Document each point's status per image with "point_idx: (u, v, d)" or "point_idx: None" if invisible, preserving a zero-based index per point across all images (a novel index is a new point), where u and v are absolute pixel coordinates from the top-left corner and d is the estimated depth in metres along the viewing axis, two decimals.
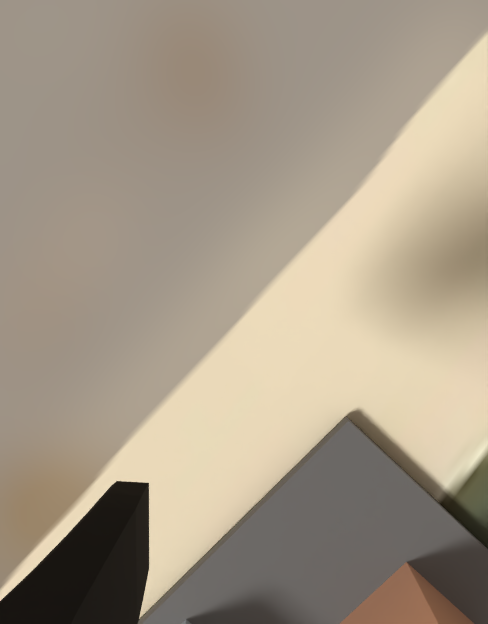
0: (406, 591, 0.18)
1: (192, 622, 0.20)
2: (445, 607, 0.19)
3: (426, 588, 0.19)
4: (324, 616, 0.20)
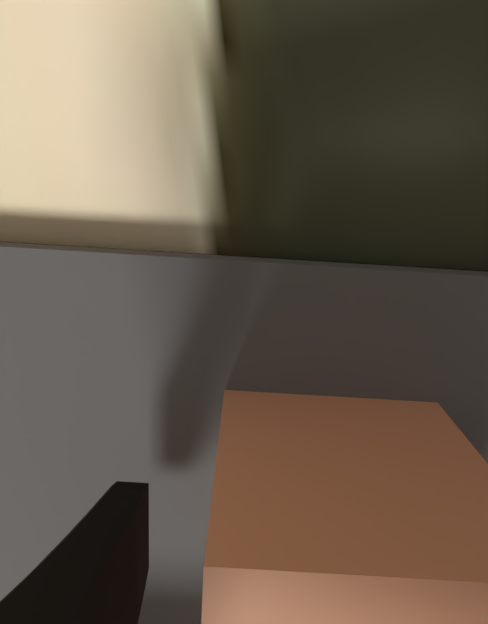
0: None
1: None
2: (313, 423, 0.09)
3: (259, 414, 0.09)
4: (185, 550, 0.11)
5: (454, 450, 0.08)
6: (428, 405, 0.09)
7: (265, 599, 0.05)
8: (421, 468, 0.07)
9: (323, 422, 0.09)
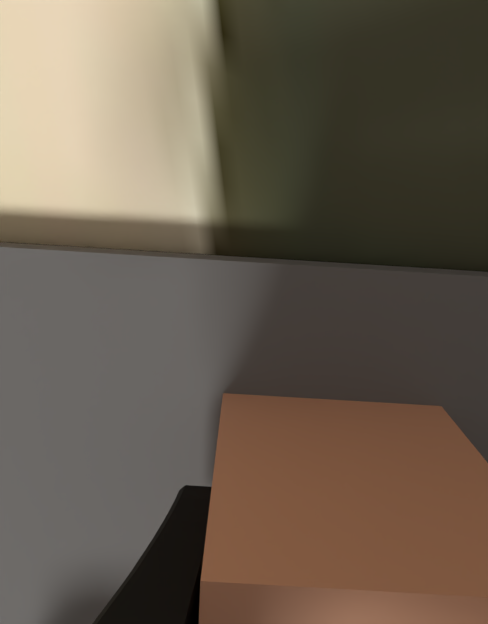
0: None
1: None
2: (313, 427, 0.08)
3: (258, 419, 0.08)
4: None
5: (459, 456, 0.08)
6: (431, 408, 0.09)
7: (265, 615, 0.05)
8: (425, 475, 0.07)
9: (324, 427, 0.08)
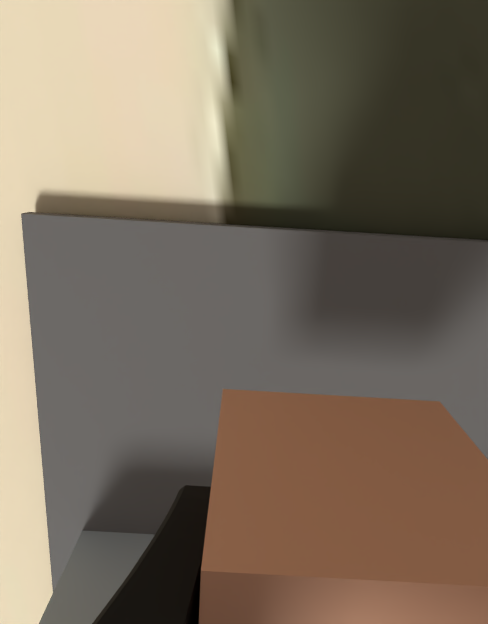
0: None
1: (91, 529, 0.17)
2: (313, 422, 0.08)
3: (257, 414, 0.09)
4: (203, 435, 0.15)
5: (456, 450, 0.08)
6: (430, 404, 0.09)
7: (265, 605, 0.05)
8: (423, 468, 0.07)
9: (323, 421, 0.08)
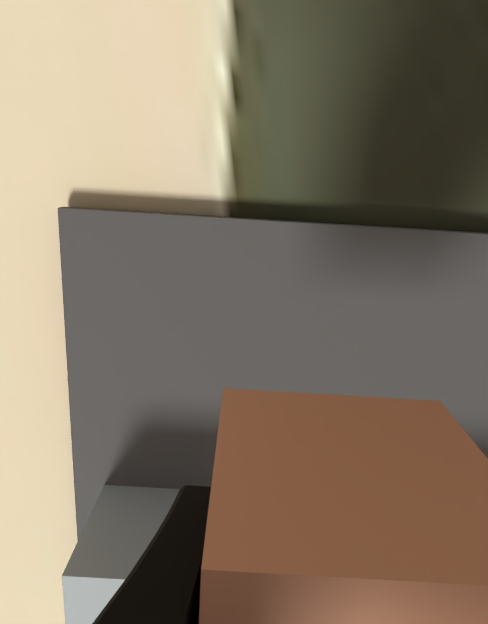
0: None
1: (112, 483, 0.19)
2: (313, 422, 0.08)
3: (258, 413, 0.09)
4: (209, 399, 0.18)
5: (457, 450, 0.08)
6: (430, 404, 0.09)
7: (264, 603, 0.05)
8: (423, 468, 0.07)
9: (323, 421, 0.08)
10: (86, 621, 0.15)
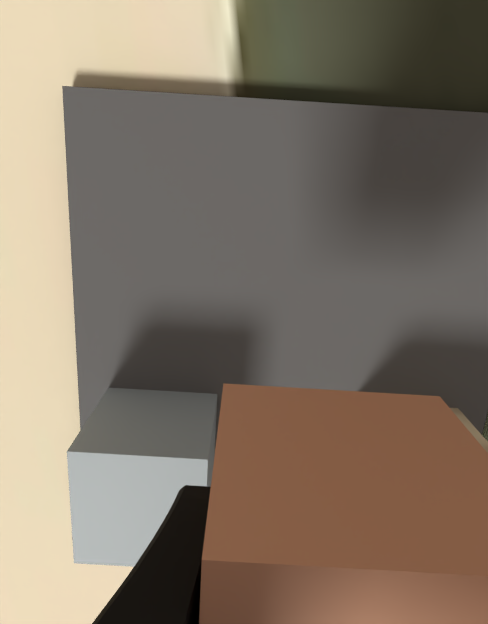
0: None
1: (116, 386, 0.19)
2: (313, 416, 0.08)
3: (258, 408, 0.09)
4: (216, 294, 0.18)
5: (457, 444, 0.08)
6: (430, 398, 0.09)
7: (265, 593, 0.05)
8: (423, 460, 0.07)
9: (324, 415, 0.08)
10: (91, 502, 0.15)
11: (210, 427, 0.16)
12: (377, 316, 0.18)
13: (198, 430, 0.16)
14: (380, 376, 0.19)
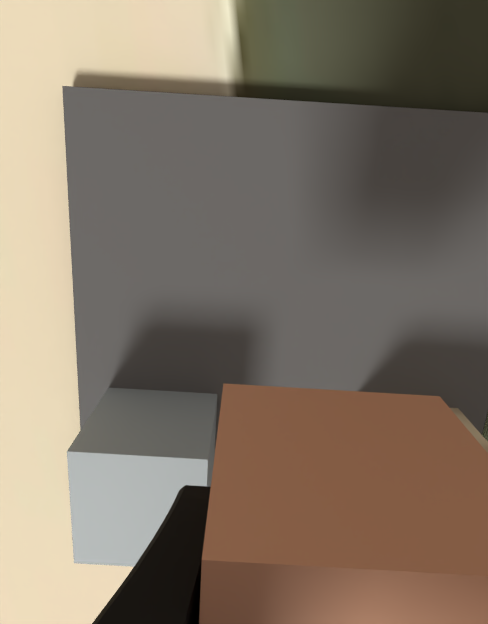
0: None
1: (116, 386, 0.19)
2: (313, 416, 0.08)
3: (258, 408, 0.09)
4: (216, 294, 0.18)
5: (456, 443, 0.08)
6: (430, 398, 0.09)
7: (265, 593, 0.05)
8: (423, 461, 0.07)
9: (324, 415, 0.08)
10: (91, 502, 0.15)
11: (210, 427, 0.16)
12: (377, 316, 0.18)
13: (198, 430, 0.16)
14: (380, 376, 0.19)
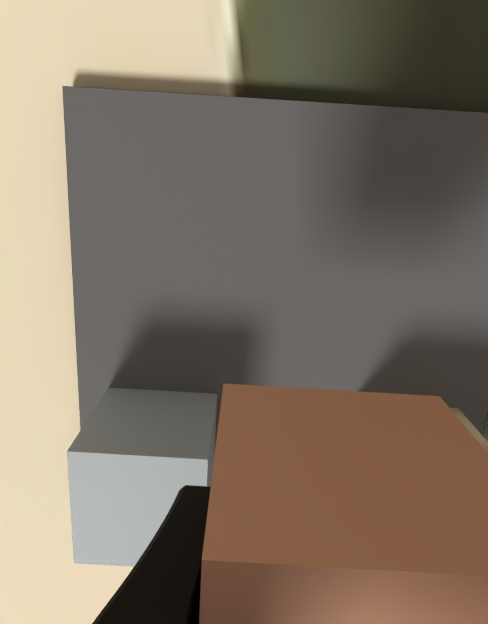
0: None
1: (116, 386, 0.19)
2: (313, 416, 0.08)
3: (258, 408, 0.09)
4: (216, 294, 0.18)
5: (456, 443, 0.08)
6: (430, 398, 0.09)
7: (265, 593, 0.05)
8: (423, 461, 0.07)
9: (324, 415, 0.08)
10: (91, 502, 0.15)
11: (210, 427, 0.16)
12: (377, 316, 0.18)
13: (198, 430, 0.16)
14: (380, 376, 0.19)
